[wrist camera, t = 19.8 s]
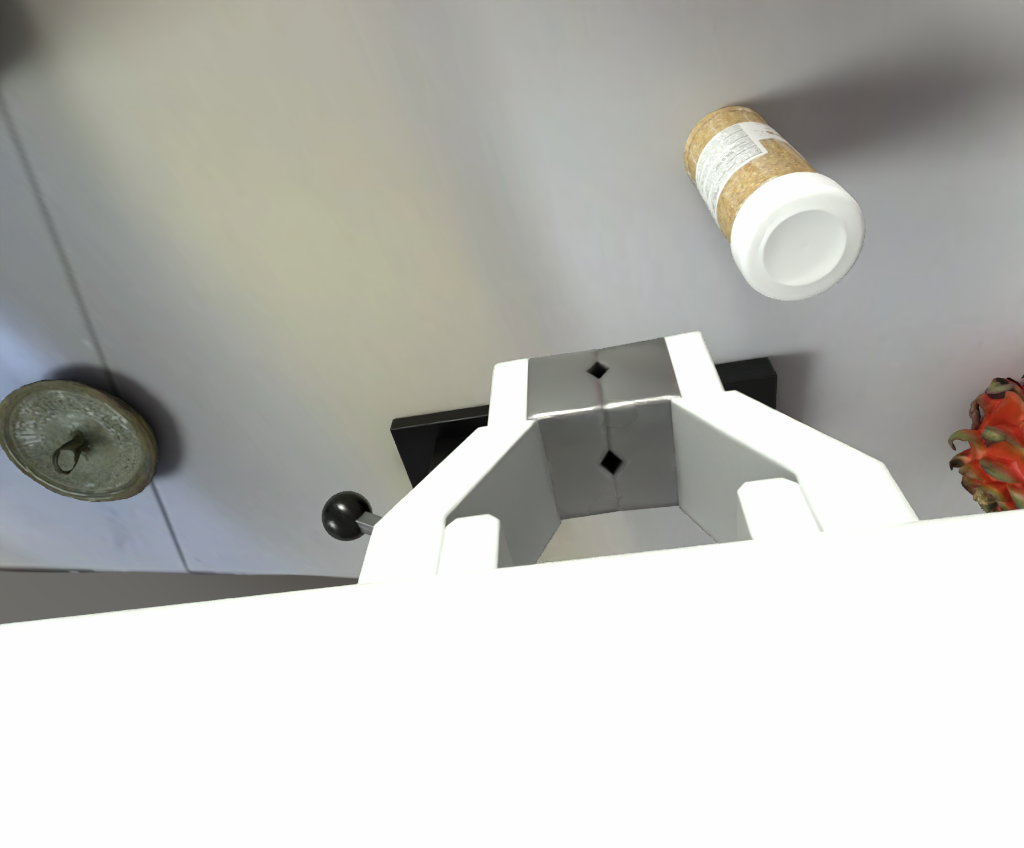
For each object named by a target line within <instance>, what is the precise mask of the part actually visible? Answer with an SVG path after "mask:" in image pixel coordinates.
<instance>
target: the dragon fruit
mask: <svg viewBox="0 0 1024 848" xmlns="http://www.w3.org/2000/svg"><path fill="white" fill-rule="evenodd" d="M1022 378H1024V375H1023V377H1022ZM1002 392H1006V393H1005V397H1004V398H1002V399H992V398H990V397H989V396H988V395H987V394H992V393H995V394H998V393H1002ZM986 393H987V394H980V395H979V396H978V397H977V398H976V399H975V400H974V401H973V402H972V403H971V409H970V411H969V416H970V418H972V422H973V424H972V427H971V430H969V429H963V430H959V431H957V432H955V433H954V434H953V435H952V436H951V437H950V438H949V440H948V443H949V445H950V446H951V448H952V449H953V450H955V451H956V448H955V446H954V444H953V440H961V441H968V442H969V444H970V447H971V448H970V449H968V450H965V451H963V452H961V453H959V454H957V455H956V456H954V457H953V458H952V459H951V461H950V462H949V464H950V468H951V470H953V467H956V468H958V467H961V468H960V469H959V473H960V474H961V475H963V476H962V482H961V484H962V486H963V487H964V488H965V489H966V490H967V491H968V492H969V493H970V494H972V495H973V500H975V501H977V502H978V503H979V505H980V506H981V507H982V508H981V509H984V510H985V512H986V513H993V512H1002V511H1011V510H1020V509H1024V385H1023V386H1021V385H1020V384H1019V383H1018V382H1017V381H1015V380H1013V379H1011V378H1007V379H1004V378H994V379H993V380H992V382H991V384H990V386H989V387H988V389H987V391H986ZM979 406H980V407H981V408H982V409H983V411H984V413H985V416H984V418H983V420H982V422H980V420H981V416H980V412H979ZM984 510H983V511H984Z"/></svg>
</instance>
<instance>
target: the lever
mask: <svg viewBox="0 0 1024 848" xmlns="http://www.w3.org/2000/svg"><path fill="white" fill-rule="evenodd" d="M382 518H383V517H380V516H377V515H374V514H373V513H372V508H371V505H370V503H369V502H368V500H367V499H366V498H365V497H364V496H362V495H361V494H359V493H356V492H352V491H343V492H340V493H337V494H335V495H333V496H332V497H331V498H330V499H329V500H328V501H327V502H326V504H325V506H324V508H323V511H322V523H323V526H324V528H325V530H326V531H327V532H328V534H329V535H331V536H332V537H334V538H335V539H338V540H341V541H351V540H355V539H357V538H359V537H361V536H362V535H364V534H368V535H371V534H372V531H373V527H374V525H375V524H377V523H378V522H379V521H380V520H381V519H382Z"/></svg>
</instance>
